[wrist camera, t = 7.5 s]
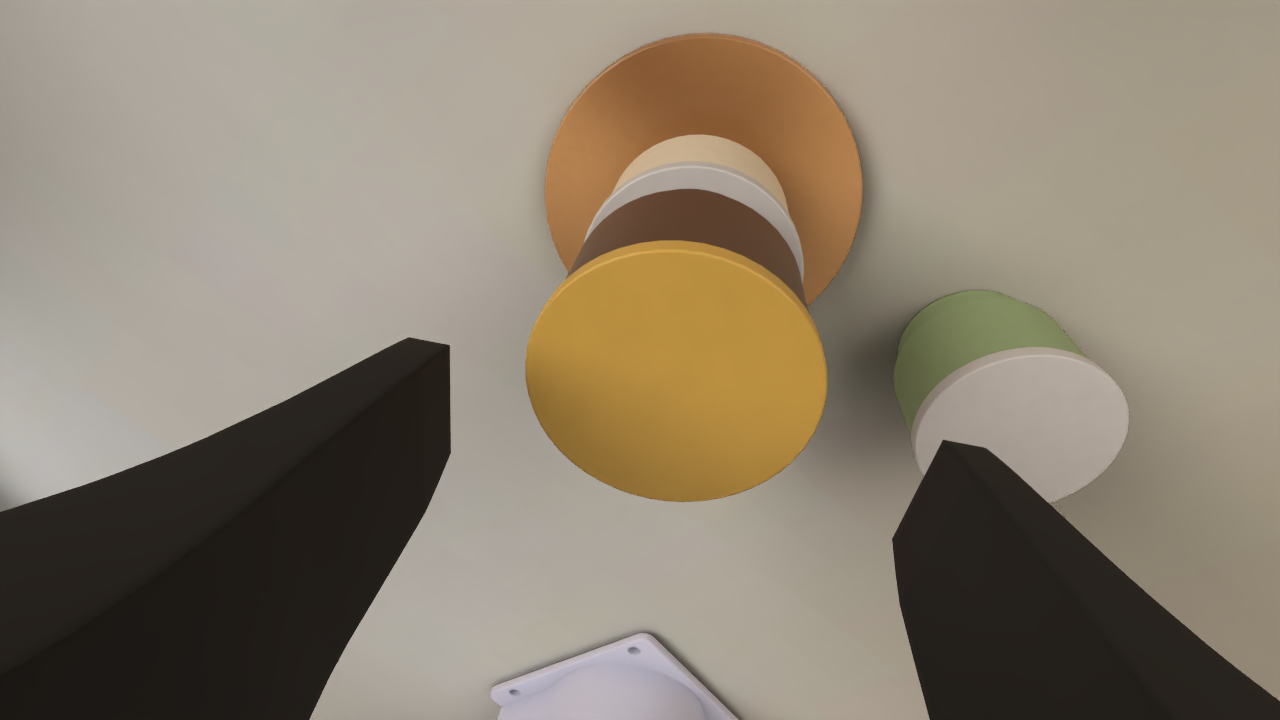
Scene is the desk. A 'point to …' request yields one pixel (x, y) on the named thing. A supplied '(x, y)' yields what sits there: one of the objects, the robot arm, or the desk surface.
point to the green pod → (1008, 391)
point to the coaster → (718, 106)
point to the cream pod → (706, 180)
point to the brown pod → (679, 351)
